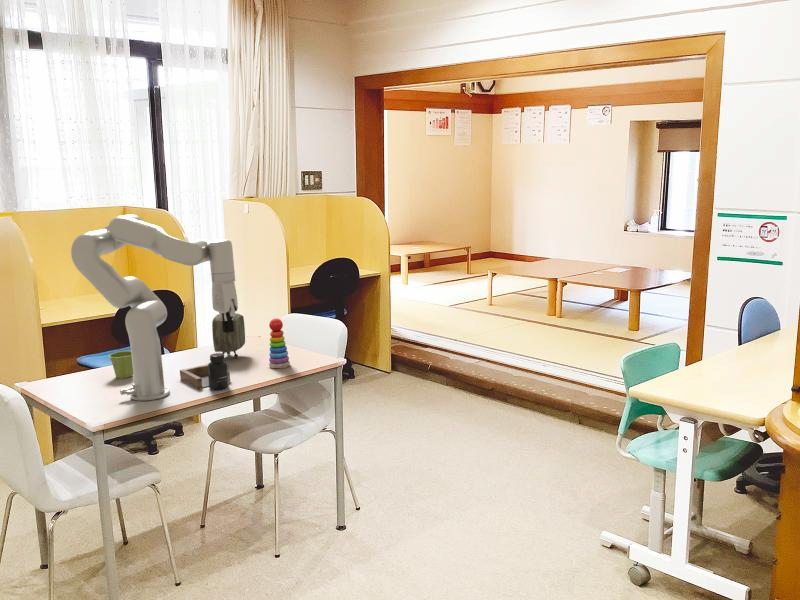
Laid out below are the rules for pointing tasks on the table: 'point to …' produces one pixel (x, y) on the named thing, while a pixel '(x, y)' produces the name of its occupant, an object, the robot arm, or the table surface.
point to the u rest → (197, 376)
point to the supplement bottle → (218, 372)
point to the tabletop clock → (228, 335)
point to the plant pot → (122, 364)
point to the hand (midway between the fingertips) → (228, 331)
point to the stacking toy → (277, 346)
